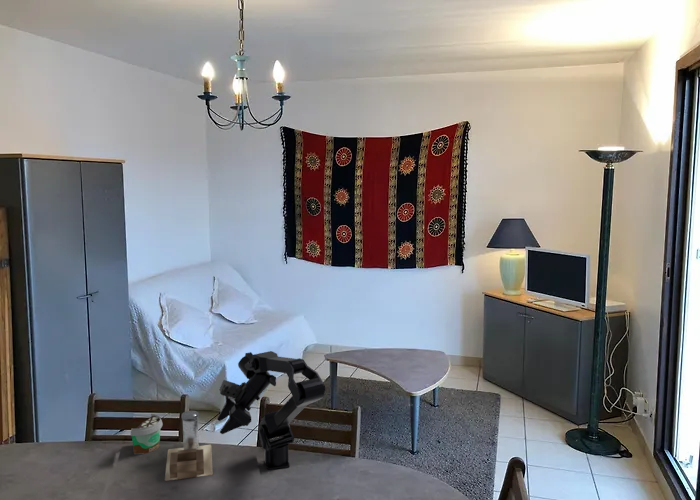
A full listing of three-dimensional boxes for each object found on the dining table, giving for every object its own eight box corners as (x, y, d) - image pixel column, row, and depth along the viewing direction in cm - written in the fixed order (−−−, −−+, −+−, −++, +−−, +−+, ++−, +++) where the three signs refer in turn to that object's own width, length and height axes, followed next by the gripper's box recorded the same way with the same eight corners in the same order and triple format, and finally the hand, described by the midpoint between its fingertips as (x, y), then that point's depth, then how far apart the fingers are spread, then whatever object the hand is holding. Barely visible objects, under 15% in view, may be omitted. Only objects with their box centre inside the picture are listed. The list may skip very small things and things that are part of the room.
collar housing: (211, 449, 179) (210, 432, 178) (212, 479, 161) (212, 461, 160) (168, 454, 176) (167, 437, 175) (164, 485, 157) (164, 467, 157)
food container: (150, 462, 170) (148, 431, 169) (131, 460, 171) (130, 429, 170) (170, 444, 182) (169, 414, 181) (153, 442, 183) (152, 412, 182)
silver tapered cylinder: (199, 450, 175) (198, 409, 173) (200, 457, 170) (198, 416, 169) (183, 452, 174) (181, 411, 172) (182, 459, 169) (181, 418, 167)
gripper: (231, 362, 181) (197, 399, 179) (238, 383, 163) (200, 425, 162) (257, 382, 184) (224, 419, 183) (266, 405, 167) (230, 446, 165)
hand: (219, 426), depth 173 cm, fingers open, 9 cm apart
